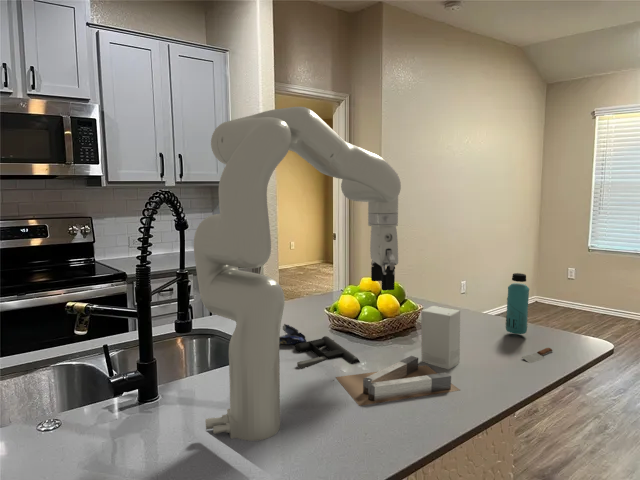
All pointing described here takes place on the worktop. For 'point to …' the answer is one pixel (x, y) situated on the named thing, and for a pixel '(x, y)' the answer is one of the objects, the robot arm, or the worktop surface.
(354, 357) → the black submachine gun
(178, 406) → the worktop surface
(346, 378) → the cutting board
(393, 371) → the tongs arm
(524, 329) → the beverage bottle
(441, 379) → the arm
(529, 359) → the cleaver
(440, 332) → the skincare box
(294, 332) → the snack package
